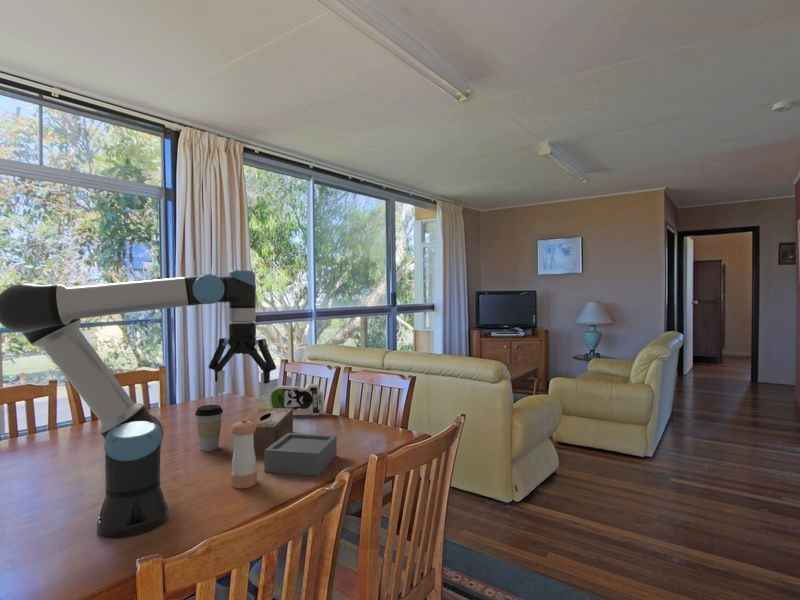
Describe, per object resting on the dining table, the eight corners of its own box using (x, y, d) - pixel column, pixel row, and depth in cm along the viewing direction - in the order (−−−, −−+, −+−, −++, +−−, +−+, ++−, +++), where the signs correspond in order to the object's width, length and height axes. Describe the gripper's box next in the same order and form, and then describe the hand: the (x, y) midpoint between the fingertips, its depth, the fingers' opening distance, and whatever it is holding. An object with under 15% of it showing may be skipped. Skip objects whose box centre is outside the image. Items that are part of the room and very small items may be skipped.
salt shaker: (262, 481, 136) (261, 418, 136) (242, 490, 130) (242, 424, 129) (245, 476, 140) (245, 414, 139) (225, 485, 133) (225, 420, 133)
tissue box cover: (274, 455, 159) (274, 426, 159) (233, 454, 159) (233, 426, 159) (292, 432, 185) (292, 408, 185) (257, 432, 185) (257, 408, 185)
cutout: (325, 385, 213) (271, 381, 210) (325, 386, 210) (270, 382, 208) (323, 417, 213) (268, 414, 211) (322, 418, 210) (267, 415, 208)
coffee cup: (213, 453, 159) (212, 411, 159) (189, 451, 161) (189, 409, 161) (228, 445, 169) (228, 404, 168) (205, 443, 170) (205, 403, 170)
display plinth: (318, 476, 140) (318, 453, 140) (264, 472, 143) (264, 450, 143) (336, 455, 158) (336, 435, 158) (287, 452, 161) (287, 432, 161)
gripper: (287, 322, 137) (287, 392, 137) (210, 321, 140) (210, 389, 140) (277, 323, 129) (276, 397, 129) (196, 322, 133) (196, 394, 133)
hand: (242, 393), depth 135 cm, fingers open, 13 cm apart
